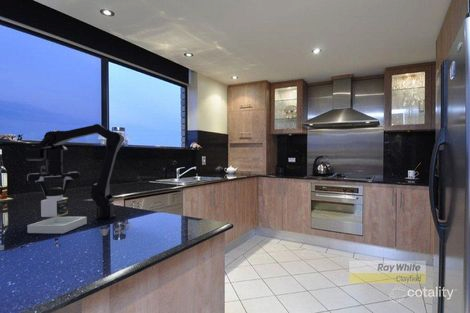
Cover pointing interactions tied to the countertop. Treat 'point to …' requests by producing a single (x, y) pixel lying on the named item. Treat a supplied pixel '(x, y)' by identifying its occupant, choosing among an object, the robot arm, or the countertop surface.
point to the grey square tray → (57, 225)
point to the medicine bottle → (54, 203)
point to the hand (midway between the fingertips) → (54, 195)
